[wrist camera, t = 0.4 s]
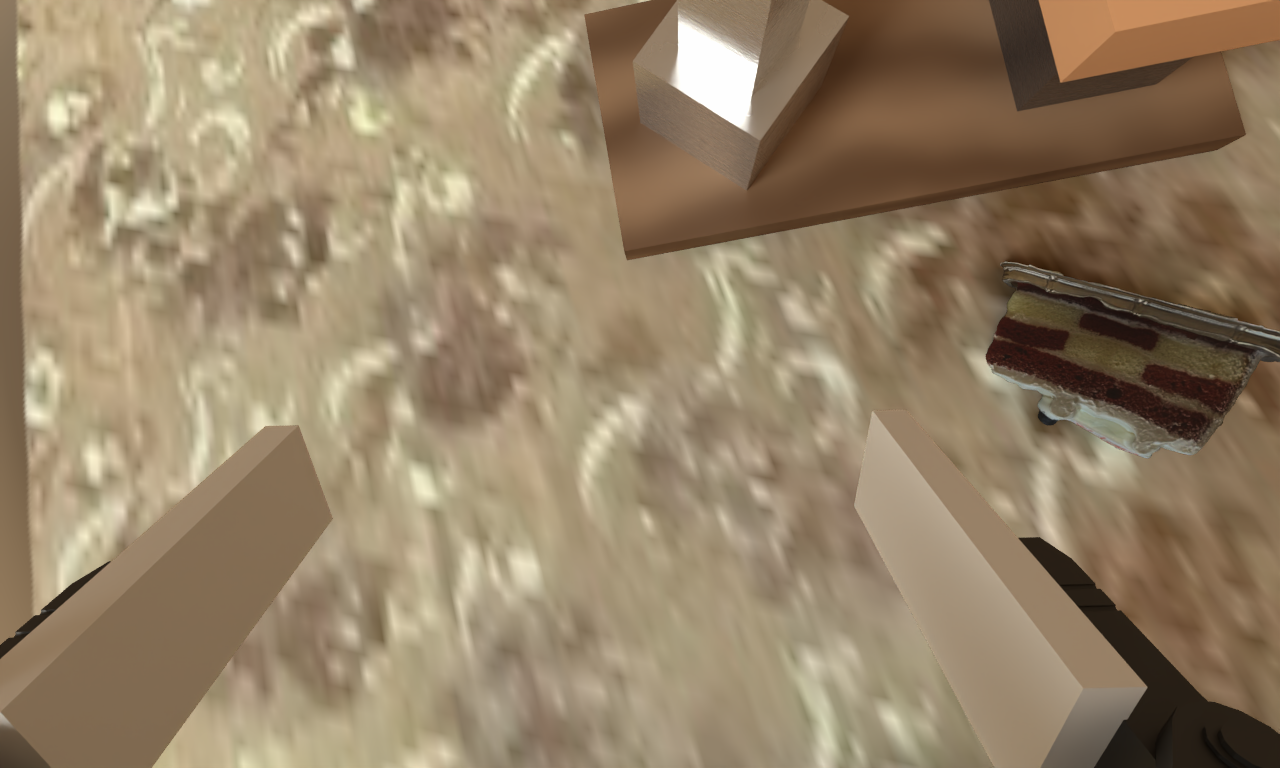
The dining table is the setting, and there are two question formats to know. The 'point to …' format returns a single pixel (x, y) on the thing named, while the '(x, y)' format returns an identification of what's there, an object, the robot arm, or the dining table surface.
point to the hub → (734, 76)
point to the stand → (1036, 65)
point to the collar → (1150, 31)
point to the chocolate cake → (1124, 360)
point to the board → (889, 128)
